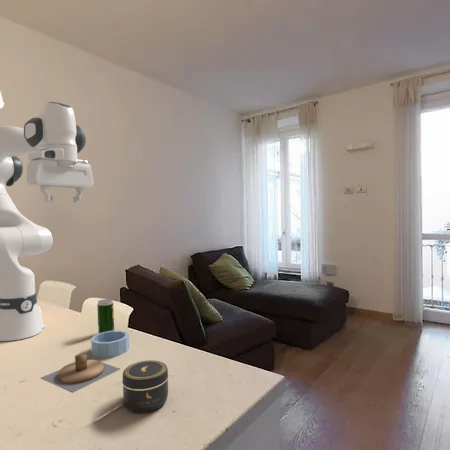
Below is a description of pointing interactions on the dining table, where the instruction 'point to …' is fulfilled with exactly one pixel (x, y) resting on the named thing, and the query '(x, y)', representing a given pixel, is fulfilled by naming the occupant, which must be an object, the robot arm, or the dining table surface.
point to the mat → (74, 387)
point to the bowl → (109, 344)
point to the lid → (80, 370)
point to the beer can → (105, 315)
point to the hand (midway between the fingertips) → (63, 202)
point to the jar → (145, 386)
